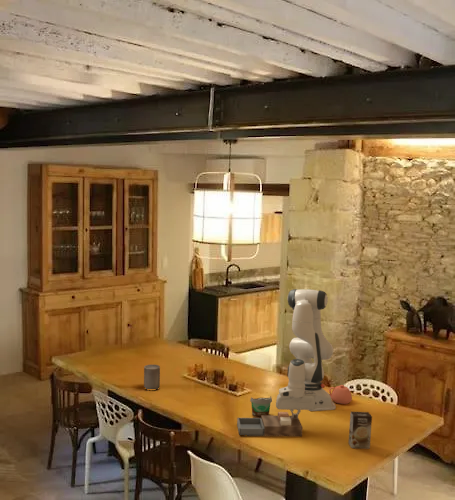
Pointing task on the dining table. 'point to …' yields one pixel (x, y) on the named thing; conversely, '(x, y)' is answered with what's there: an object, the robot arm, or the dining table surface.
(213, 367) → the dining table surface
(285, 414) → the terracotta tile
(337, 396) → the sugar bowl
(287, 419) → the cream block
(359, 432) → the coffee box
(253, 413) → the food container
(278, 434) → the block
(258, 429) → the bin
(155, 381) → the smart speaker
